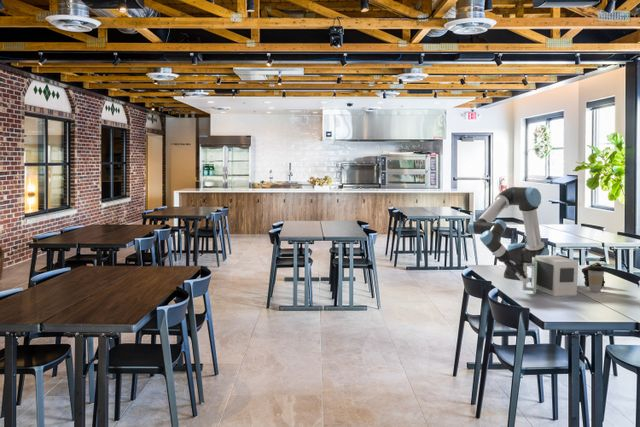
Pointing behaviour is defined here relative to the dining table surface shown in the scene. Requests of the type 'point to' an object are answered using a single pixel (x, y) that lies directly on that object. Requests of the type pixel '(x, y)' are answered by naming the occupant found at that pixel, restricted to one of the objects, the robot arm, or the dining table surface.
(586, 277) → the dark bumpy flat shape
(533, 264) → the side door
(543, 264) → the machine housing
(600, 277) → the coffee cup
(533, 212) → the robot arm
